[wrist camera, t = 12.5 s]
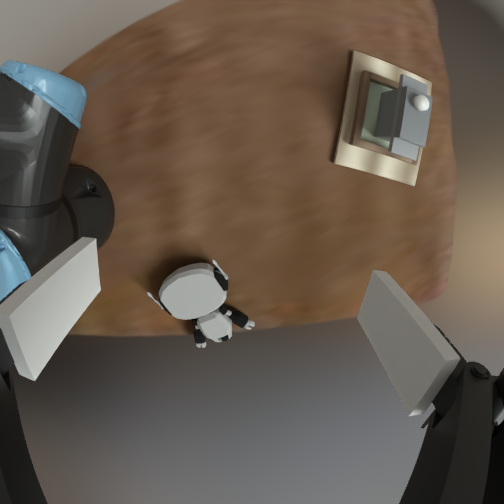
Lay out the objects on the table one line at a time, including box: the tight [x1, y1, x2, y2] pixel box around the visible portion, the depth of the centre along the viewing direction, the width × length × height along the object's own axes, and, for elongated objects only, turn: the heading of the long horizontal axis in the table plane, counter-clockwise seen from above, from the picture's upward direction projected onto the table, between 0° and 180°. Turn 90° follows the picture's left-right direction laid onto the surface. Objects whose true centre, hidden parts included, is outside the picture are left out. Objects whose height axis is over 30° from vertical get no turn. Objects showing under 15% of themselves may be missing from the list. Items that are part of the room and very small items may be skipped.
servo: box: [374, 74, 432, 161], centre depth 32 cm, size 4×11×9 cm, turn 170°
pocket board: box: [333, 51, 432, 186], centre depth 36 cm, size 14×18×2 cm
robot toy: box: [147, 260, 255, 348], centre depth 46 cm, size 12×4×15 cm
